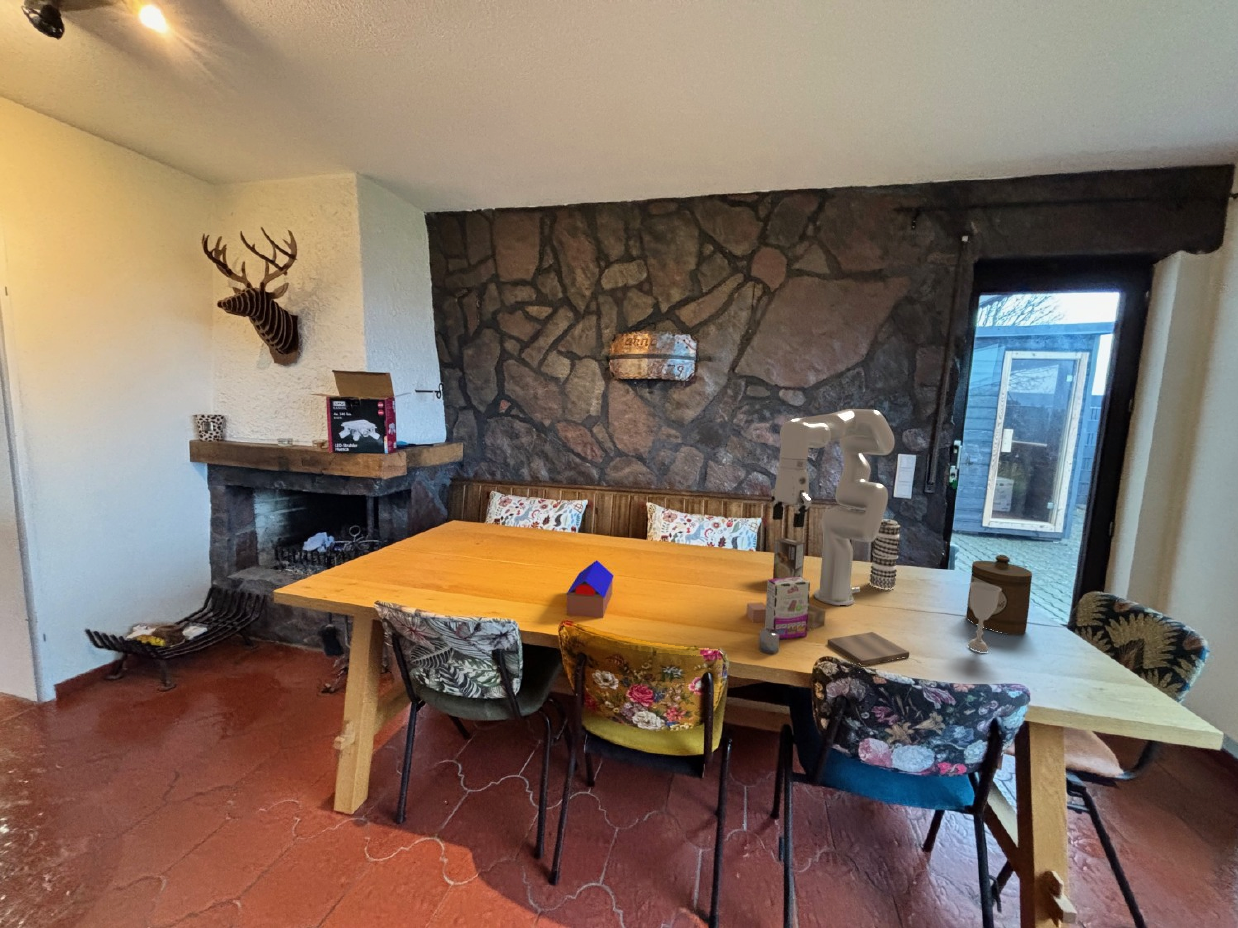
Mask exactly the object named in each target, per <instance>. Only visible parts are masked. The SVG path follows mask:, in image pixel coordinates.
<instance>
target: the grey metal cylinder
mask: <svg viewBox="0 0 1238 928" xmlns="http://www.w3.org/2000/svg"><path fill="white" fill-rule="evenodd" d="M758 638H759V640H758V650H759V651H760V653H763V654H766V655H772V656H773V655H777V654H778V653H779V646H780V645H779V643H780V640H779V632H778V631H776V630H774V629H770V628H765V627H764V628H761V629H759V637H758Z"/></svg>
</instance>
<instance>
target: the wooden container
mask: <svg viewBox="0 0 1238 928" xmlns="http://www.w3.org/2000/svg"><path fill="white" fill-rule="evenodd" d="M994 558H995V561H993V560H975V561H973V562H972V564H971V576H970V583H972V582H981V583H987V584H992V585H995V586H998V587H1000V588H1001V589H1002V590H1001V591H1000V593H999V596H998V604H997V608H996V609H995V611H994V613H993V614H992V615H991V616H990V617H989V618H988V620H984V621H983V626H984V628H987V629H992V630H994V631H998V632H1002V633H1001V634H1003V633H1007V634H1006V635H1011V634H1017V635H1023V634H1025V633H1026V632H1027V631H1026V630H1027V625H1028V618H1029V610H1030V602H1031V601H1030V598H1031V586H1032V580H1033V579H1032V578H1033V572H1032V571H1030V570H1029V569H1027V568H1025V567H1023V566H1019V565H1015V564H1011V563H1009V562H1010V561H1011V559H1010V557H1008V556H1007V555H1004V554H999V555H996V556H995V557H994ZM970 594H971V586H970V585H969V590H968V596H967V597H968V598H967V605H966V606H967V608H966V615H965V616H967V618H968V619H969V620H970V621H972V622H973V623H974V624H978V623H979V619H978V618H976V617H975V615H974V612H973V610H972V608H971V604H970ZM967 618H966V619H967ZM970 621H969V622H970ZM974 624H973V625H974ZM994 631H993V632H994ZM1025 631H1026V632H1025ZM998 632H997V633H998Z"/></svg>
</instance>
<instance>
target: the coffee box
mask: <svg viewBox="0 0 1238 928" xmlns="http://www.w3.org/2000/svg"><path fill="white" fill-rule="evenodd" d="M805 543H806V542H803V541H798V540H796V539H795V540H794V539H790V538H786V537H780V538H778V539H775V540H774V553H773V554H774V555H773V567H772V568H773V570H772V571H773V572H772V573H773V574H772V579H779V578H790V577H802V578H804V577H803V576H804V575H803V574H804V561H805V560H804V559H805V547H806V544H805Z"/></svg>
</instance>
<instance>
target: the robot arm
mask: <svg viewBox="0 0 1238 928" xmlns="http://www.w3.org/2000/svg"><path fill="white" fill-rule="evenodd" d="M779 431H780V432H779V438H780V440H781V441H780V452H779V461H778V463H779V465H778V471H777V474H776V479H775V485H774V488H772V489H771V490H770V495H771V501H772V504H771V505H772V507H773V510H772V520H773V521H776V520H777V521H782V520H783V518H784V504H785V505H786V504H787V505H790V506H793V508H794V510H795V513H794V514H793V521H792V522H793V523H792V526H793V528H804V527H805V520H806V519H805V517H806V515H807V513H808V511H809V510H810V506H811V505H812V502H813V500H812V499H811V498H810V497H809V495H810V494H809V493H810V492H809V491H810V489H809V488H810V487H809V486H810V485H809V484H810V482H809V481H810V480H809V472H808V471H807V467H808V466H807V465H808V456H809V448H811V449H812V448H813V449H821V448H824V447H826V446H827V445H828V444H829V443H830V442H831V441H838V440H839V445H840V450H841V453H842V457H843V463H844V464H843V469H842V473H841V475H840V478H839V482H838V485H837V488H836V491H835V496H834V497H835V498H834V499H835V501H836V502H837V504H838V505H840V506H843V507H847V508H841V507H831V508H827V509H826V510H825V511H824V512H823V514H822V516H821V527H822V554H821V555H822V556H821V563H820V564H821V565H820V566H821V567H820V579H819V589H816V590H814V592H813V593H814V594H813V595H814V597H815V598H816V600H819V601H821V602H822V603H825V604H828V605H833V606H840V605H846V606H850V605H853V604H854V602H855V597H853V596H852V595H853V594H854V593H855V594H856V593H861V588H860V586H852V585H851V580H852V579H851V578H852V572H853V571H852V569H853V560H854V559H853V558H854V549H853V546H852V544H851V541H858V542H861V543H873V541H874V540H875V539H876V537H877V535H878V532H879V529H880V526H881V522H882V519H884V515H885V512H886V509H887V506H888V500H889V492H888V489H887V487H886V486H884V485H883V484H881V483H879V482H871V481H869V480H870V477H871V476H870V475H871V472H872V469H871V466H870V464H869V462H868V461H867V459H866V458H865V456H864V455H863V454H866V455H875V456H876V455H877V456H886V455H889V454H890V453H891V452H892V451H893V450H894V448H895V435H894V433H893V431H892V429H891V427H890V425H889V423H888V421H887V419H886V418H885V416H883V414H882V413H881V412H880V411H879V410H875V409H866V408H865V409H859V408H858V409H857V408H848V409H847V408H846V409H843V410H839V411H836V412H832V413H828V414H827V413H826V414H819V415H812V416H804V417H796V418H793V419H791V420H787V421H786V422H784V423H783V424H782V426H781V427H780V429H779ZM848 508H853V509H857V510H853V509H848ZM858 510H863V511H858ZM864 511H865V512H864ZM850 540H851V541H850Z"/></svg>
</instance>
